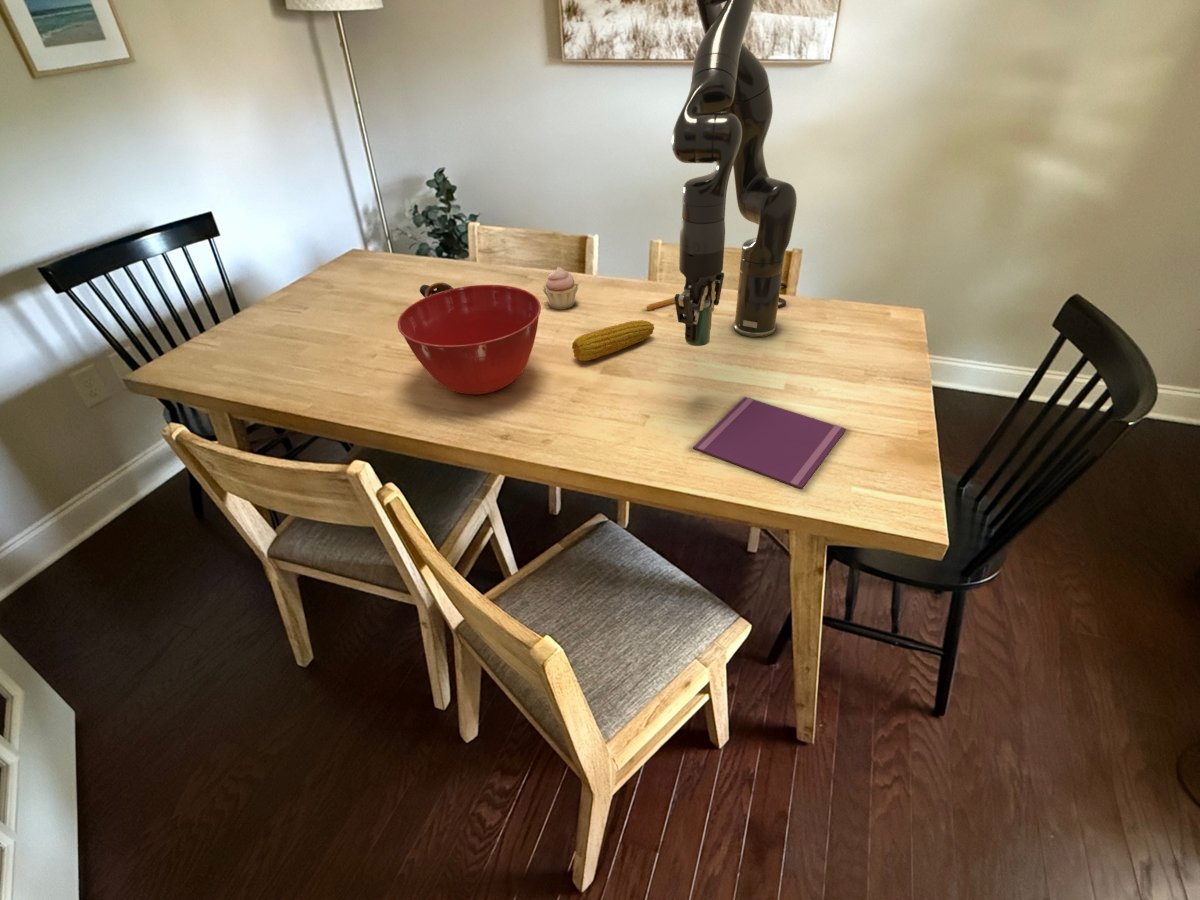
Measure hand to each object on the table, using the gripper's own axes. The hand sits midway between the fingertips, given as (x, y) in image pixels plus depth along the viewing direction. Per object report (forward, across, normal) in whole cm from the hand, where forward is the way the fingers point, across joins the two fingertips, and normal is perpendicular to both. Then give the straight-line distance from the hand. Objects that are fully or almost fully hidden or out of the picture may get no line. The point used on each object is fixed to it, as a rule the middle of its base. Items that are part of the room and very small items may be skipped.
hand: (697, 335), depth 119 cm
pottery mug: (+13, -2, -77) cm, 78 cm away
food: (+14, -8, -25) cm, 30 cm away
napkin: (+14, +5, +18) cm, 23 cm away
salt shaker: (+1, 0, 0) cm, 1 cm away
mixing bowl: (+13, +18, -42) cm, 47 cm away
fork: (+14, -39, -27) cm, 49 cm away
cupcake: (+14, -21, -52) cm, 57 cm away
